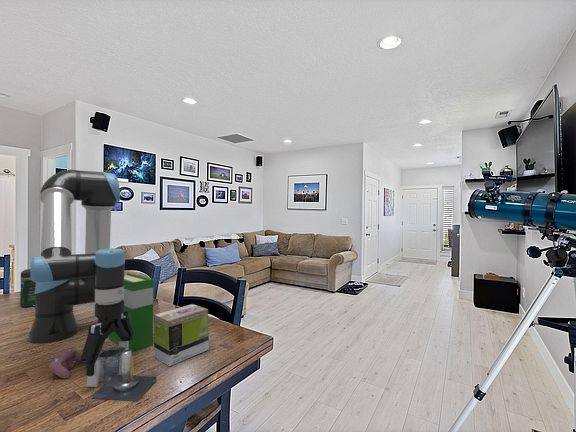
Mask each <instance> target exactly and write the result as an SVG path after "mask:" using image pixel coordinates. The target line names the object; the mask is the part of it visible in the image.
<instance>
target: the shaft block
mask: <svg viewBox="0 0 576 432" xmlns="http://www.w3.org/2000/svg"><path fill="white" fill-rule="evenodd" d="M132 353H133V352H132V351H131V350H125V351H123V352H122V353H121V375H115V376H114V377H113V378H112V379H111V380H109V381H106V382H105V384H103V385H102V386H101V387H99V388H98V389H97V390H96V391H95V392H93V393H92V399H98V400H114V401H128V402H138V401H140V399H141V398H142V397H143V396H144V395H145V394H146V393H147V391H149V389H151V388H152V386H153V385H154V384H155V383H156V382H157V376H145V375H143V376H142V375H134V355H133V354H132Z"/></svg>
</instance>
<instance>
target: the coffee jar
mask: <svg viewBox="0 0 576 432" xmlns="http://www.w3.org/2000/svg"><path fill="white" fill-rule="evenodd" d="M35 288H36V282H33V281H32V280H31V268H28V269H27V268H26V269H24V270H22V271H21V272H20V297H19V300H20V302H19V303H20V307H22V306H24V307H23V308H28V307H27V306H33V305H35Z"/></svg>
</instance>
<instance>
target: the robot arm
mask: <svg viewBox="0 0 576 432" xmlns="http://www.w3.org/2000/svg"><path fill="white" fill-rule="evenodd" d="M39 199H40V202H41V203H42V204H43V206H42V223H41V226H42V227H41V238H40V239H41V242H40V255H39V256H34V257H32V258H31V261H30V269H31V280H32V281H33V282H36V288H35V306H34V319H33V323H32V325H31V328H30V331H29V332H28V341H29V342H30V343H35V344H42V343H49V342H50V343H51V342H57V341H60V340H63V339H64V340H65V339H67V338H70V337H72V336H74V335H76V334H77V333H78V332H79V324H78V322H77V320H76V316H75V313H74V306H79V305H80V306H81V305H85V304H86V305H87V304H93V303H95V304H94V316H95V318H96V319H97V323H96V324H90V325H89V326H88V328H87V329H88V331H87V337H86V341H85V344H84V346H83V350H82V352H81V354H82V355H81V359H80V362H79V363H78V364H79V365H81V366H85V375H86V387H91V388H93V387H94V388H97V387H98V386H99V381H98V362H96V360H97V358H98V356H99V353H100V351H101V350H102V348H103V346H104V345H105V342H106V340H107V339H109V334H111V333H112V332H114V331H115V333H116V334H117V335H118V336H119V338H120V339H121V340H122V341H119V345H118V347H123V348H125V350H129V340H132V338H133V337H131V336H133V334H134V332H133V330H132V327H131V324H130V321H129V318H128V311H124V301H123V300H122V299H123V298H124V276H125V262H126V258H125V257H126V256H125V250H123V249H122V248H111V224H112V210H113V209H114V208H115V207H116V206H117V205H116V203H119V202H120V201H121V190H120V183H119V179H118V177H117V175H116V174H114V173H112V172H104V171H92V170H91V171H90V170H78V169H64V170H61V171H58V172H56V173H55V174H53V175H52V176H50V177H49V178H48V179H47V180H46V181H45V182H44V183H43V185H42V186H41V188H40V193H39ZM74 201H80V202H81V206H82V207H83V208H84V209H85V237H84V238H85V242H84V243H85V245H84V248H85V249H84V253H79V254H78V253H77V254H76V253H75V254H74V253H73V254H72V204H73V203H74ZM128 331H129V332H128ZM92 358H93V359H92Z"/></svg>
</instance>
